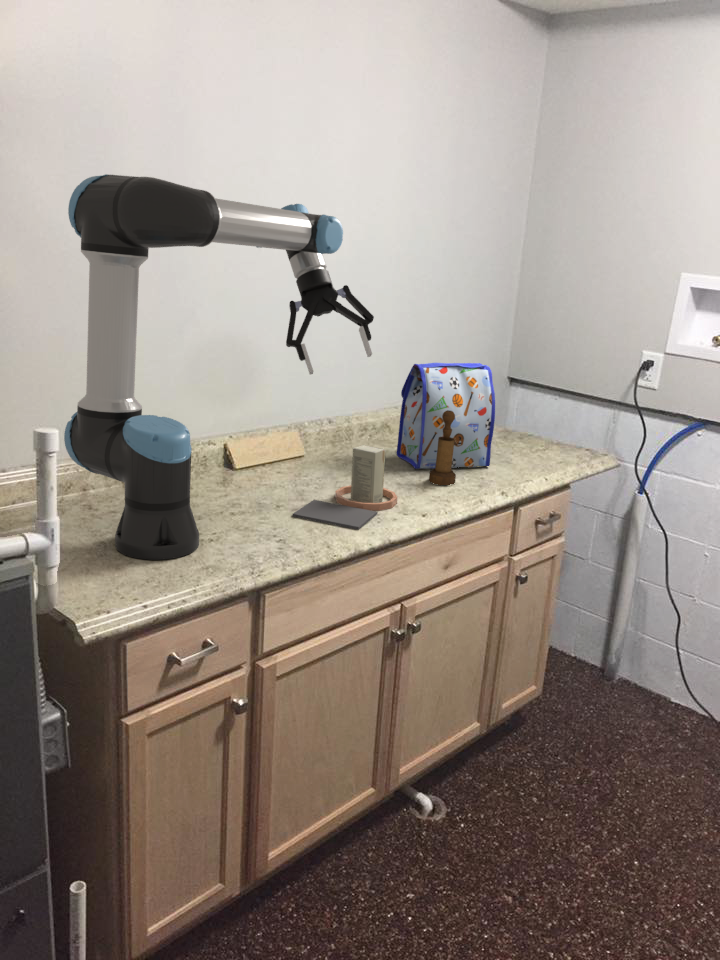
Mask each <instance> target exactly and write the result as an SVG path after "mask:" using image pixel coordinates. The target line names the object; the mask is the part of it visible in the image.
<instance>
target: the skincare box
mask: <svg viewBox="0 0 720 960" xmlns="http://www.w3.org/2000/svg"><path fill="white" fill-rule="evenodd" d="M385 457H386V449H385V448H384V449H383V448H379V447H374V446H369V445H365V444H362V445H360V446H355V447H353V448H352V459H351V464H352V465H351V480H350V481H351V482H350V483H351V484H350V485H351V493H350V500H352V501H357V502H362V503H381V502H383V499H384V498H383V497H384V496H383V488H384V480H385V479H384V478H385V462H386V461H385V460H386V459H385Z"/></svg>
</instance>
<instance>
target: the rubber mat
mask: <svg viewBox="0 0 720 960" xmlns="http://www.w3.org/2000/svg"><path fill="white" fill-rule="evenodd" d="M377 515H378V511H371V510H366V509H360V508H355V507H350V506H345V505H341V504H339V503H335V502H328V501H324V500H319V499H313V500H311V501H309V502H308V503H307V504H305V505H304V506H302V507H300V508H299V509H297V510H296V511H295V512H293V513H292V517H294V518H299V519H302V518H303V520H307V519H308V520H309V521H313V522H318V523H323V524H328V525H333V526H338V527H343V528H348V529H353V530H356V531H360V530H361V529H362V528H363V527H364V526H365V525H367V524H368V523H369V522H370V521H371V520H372V519H374V518H375V517H376V516H377ZM308 520H307V521H308Z"/></svg>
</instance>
